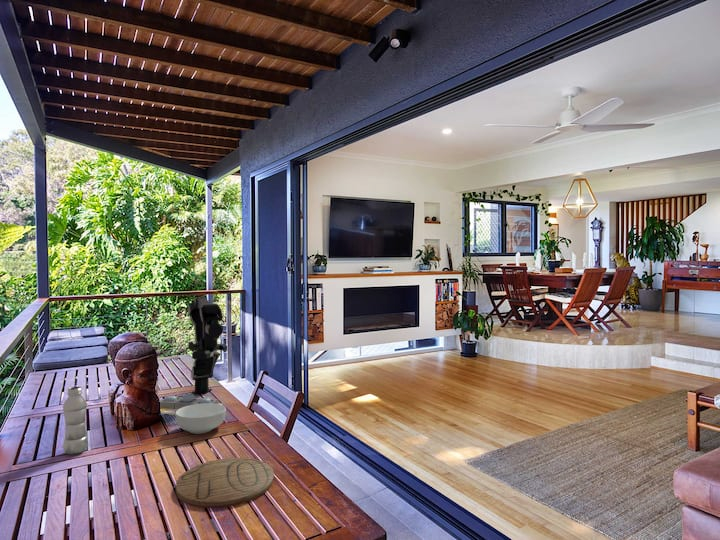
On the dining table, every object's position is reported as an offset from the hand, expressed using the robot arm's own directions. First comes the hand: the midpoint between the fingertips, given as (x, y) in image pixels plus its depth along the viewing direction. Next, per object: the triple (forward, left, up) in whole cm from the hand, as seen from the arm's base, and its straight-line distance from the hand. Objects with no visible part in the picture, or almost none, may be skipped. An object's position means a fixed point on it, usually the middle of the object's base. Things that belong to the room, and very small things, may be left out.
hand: (210, 371), depth 194 cm
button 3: (+9, +3, -12) cm, 15 cm away
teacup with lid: (0, -30, -13) cm, 33 cm away
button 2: (+9, -5, -10) cm, 15 cm away
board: (+10, -5, -13) cm, 17 cm away
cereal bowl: (+29, +12, -13) cm, 34 cm away
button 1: (+9, -12, -12) cm, 19 cm away
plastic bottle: (+54, -16, -13) cm, 58 cm away
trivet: (+64, +39, -14) cm, 76 cm away
